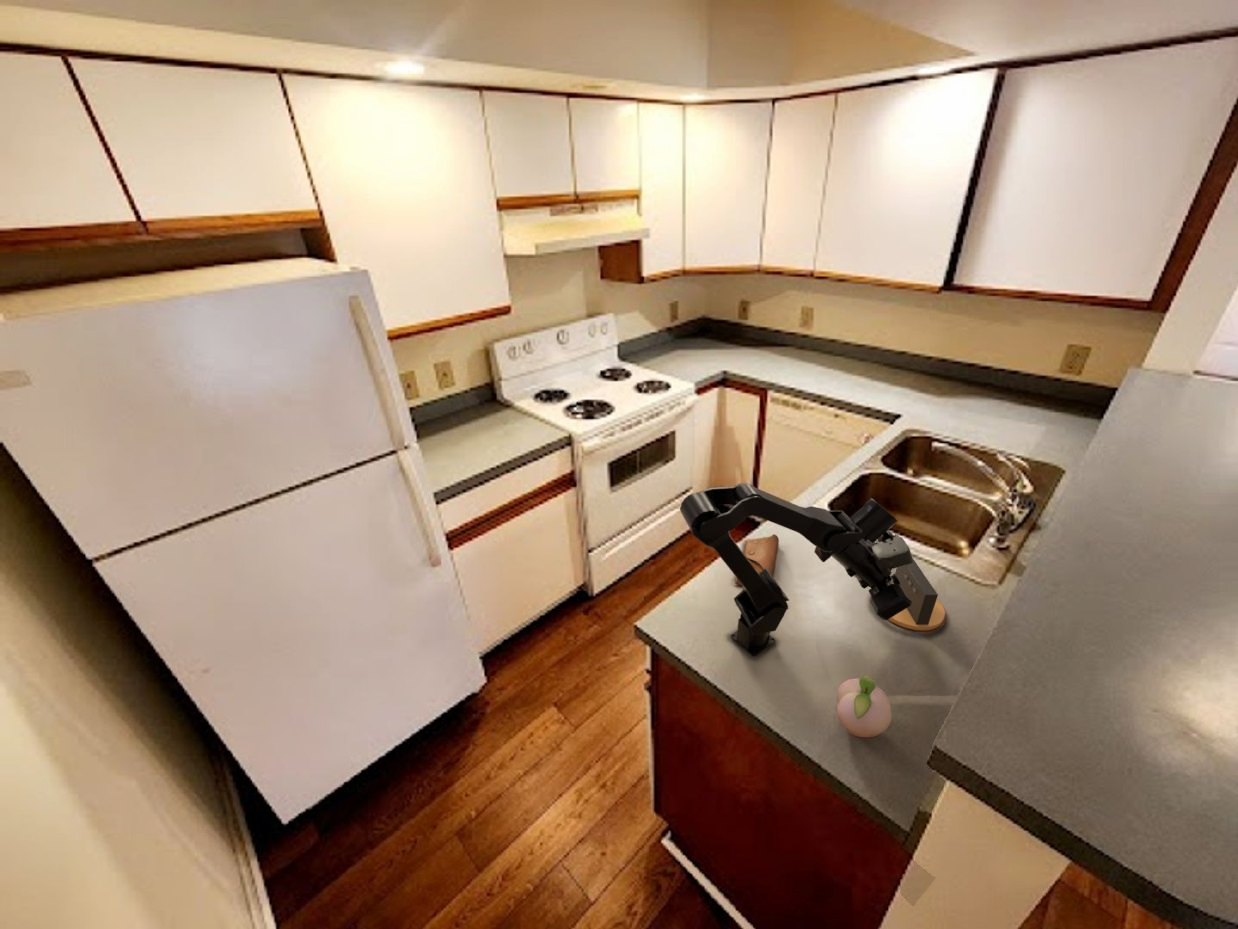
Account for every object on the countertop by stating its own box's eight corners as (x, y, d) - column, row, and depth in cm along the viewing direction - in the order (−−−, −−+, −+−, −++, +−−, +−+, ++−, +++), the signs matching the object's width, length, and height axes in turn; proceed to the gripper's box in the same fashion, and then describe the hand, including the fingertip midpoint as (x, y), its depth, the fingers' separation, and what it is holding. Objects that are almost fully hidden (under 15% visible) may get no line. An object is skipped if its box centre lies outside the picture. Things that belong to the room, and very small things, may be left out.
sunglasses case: (744, 538, 137) (759, 522, 133) (767, 553, 137) (783, 537, 133) (733, 584, 122) (750, 567, 118) (759, 601, 122) (777, 585, 118)
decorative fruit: (885, 760, 85) (899, 720, 81) (831, 743, 88) (841, 704, 83) (883, 711, 93) (895, 672, 88) (834, 697, 96) (842, 659, 91)
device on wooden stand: (888, 630, 107) (898, 597, 103) (865, 585, 119) (872, 554, 115) (956, 630, 107) (968, 597, 102) (925, 585, 118) (935, 553, 114)
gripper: (911, 563, 91) (961, 610, 95) (870, 503, 107) (915, 546, 112) (856, 598, 95) (906, 642, 100) (825, 535, 111) (869, 575, 116)
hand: (900, 598), depth 106 cm, fingers closed
